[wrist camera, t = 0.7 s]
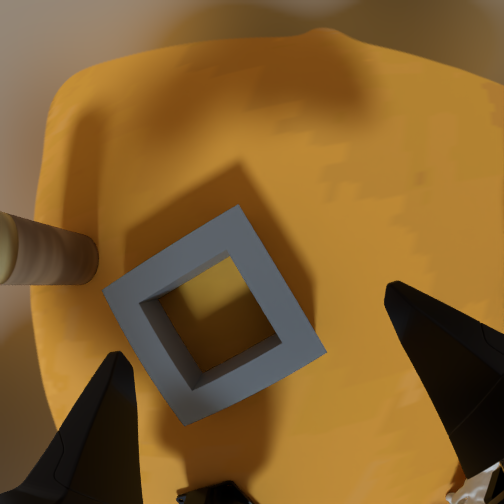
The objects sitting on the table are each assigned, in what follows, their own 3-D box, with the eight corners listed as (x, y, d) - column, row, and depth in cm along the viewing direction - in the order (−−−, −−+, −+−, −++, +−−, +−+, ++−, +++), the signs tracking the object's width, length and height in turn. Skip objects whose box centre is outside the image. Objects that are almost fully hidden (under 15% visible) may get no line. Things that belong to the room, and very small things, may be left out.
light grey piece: (468, 545, 11) (497, 471, 13) (438, 513, 19) (453, 444, 21) (508, 518, 11) (536, 442, 13) (475, 494, 19) (491, 424, 21)
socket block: (315, 339, 22) (327, 352, 18) (195, 404, 22) (184, 426, 18) (241, 216, 23) (238, 204, 19) (125, 288, 22) (101, 290, 18)
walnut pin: (106, 268, 23) (15, 260, 12) (71, 293, 23) (-20, 297, 12) (87, 225, 23) (-1, 194, 12) (54, 250, 23) (-34, 235, 12)
